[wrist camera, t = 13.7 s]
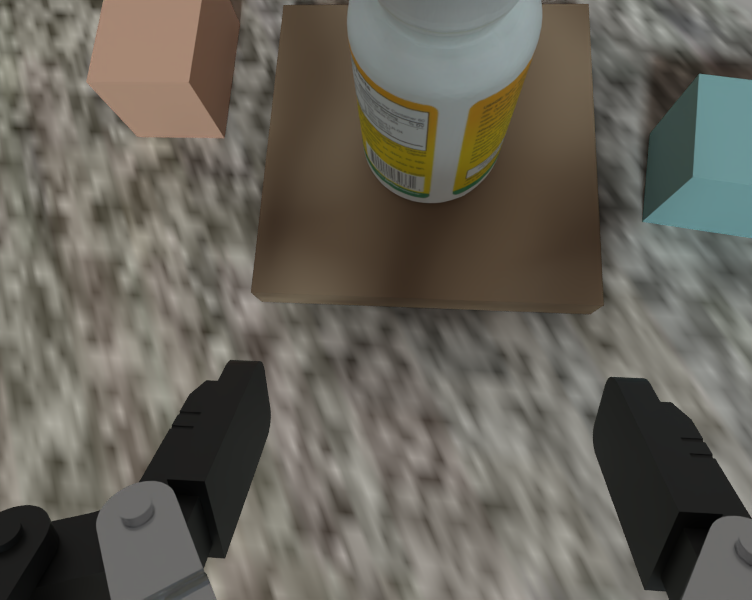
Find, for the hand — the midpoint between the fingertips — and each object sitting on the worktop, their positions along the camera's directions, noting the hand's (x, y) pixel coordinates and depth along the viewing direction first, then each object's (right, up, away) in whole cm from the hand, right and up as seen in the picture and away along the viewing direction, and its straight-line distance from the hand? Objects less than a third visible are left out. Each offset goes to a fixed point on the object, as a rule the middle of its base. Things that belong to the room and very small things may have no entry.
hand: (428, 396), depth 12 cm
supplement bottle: (+1, +8, +9) cm, 12 cm away
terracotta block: (-10, +12, +12) cm, 20 cm away
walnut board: (+1, +8, +10) cm, 13 cm away
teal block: (+13, +7, +9) cm, 17 cm away
